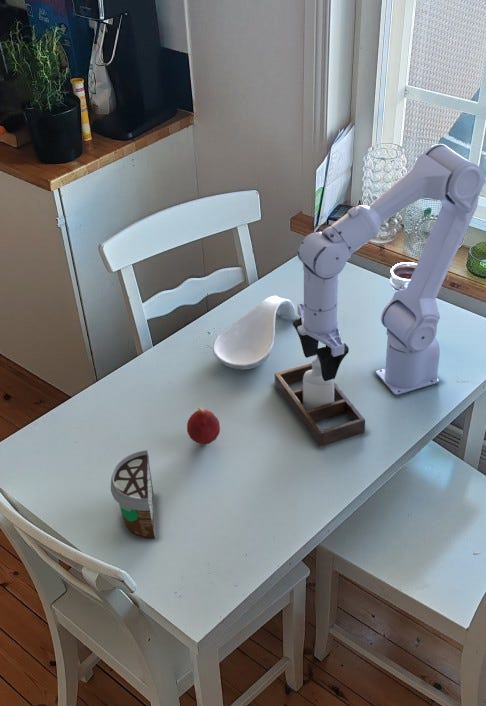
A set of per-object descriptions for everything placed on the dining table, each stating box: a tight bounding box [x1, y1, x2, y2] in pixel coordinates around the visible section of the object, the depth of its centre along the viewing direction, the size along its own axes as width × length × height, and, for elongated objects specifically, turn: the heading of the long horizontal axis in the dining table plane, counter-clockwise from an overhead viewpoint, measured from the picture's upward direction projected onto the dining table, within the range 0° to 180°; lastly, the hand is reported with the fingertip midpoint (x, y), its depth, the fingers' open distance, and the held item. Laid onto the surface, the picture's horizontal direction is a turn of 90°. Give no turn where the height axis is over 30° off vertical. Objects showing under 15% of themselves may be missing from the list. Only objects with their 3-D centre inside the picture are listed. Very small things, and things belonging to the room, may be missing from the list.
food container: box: [110, 449, 156, 540], centre depth 149 cm, size 12×6×10 cm, turn 5°
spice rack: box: [274, 362, 366, 448], centre depth 170 cm, size 9×19×3 cm, turn 22°
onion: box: [186, 407, 221, 445], centre depth 163 cm, size 6×6×8 cm
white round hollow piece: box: [389, 262, 417, 293], centre depth 186 cm, size 7×7×12 cm
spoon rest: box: [212, 295, 298, 370], centre depth 184 cm, size 24×12×7 cm, turn 150°
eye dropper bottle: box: [302, 355, 335, 410], centre depth 167 cm, size 4×6×12 cm
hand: (319, 367), depth 165 cm, fingers open, 7 cm apart
